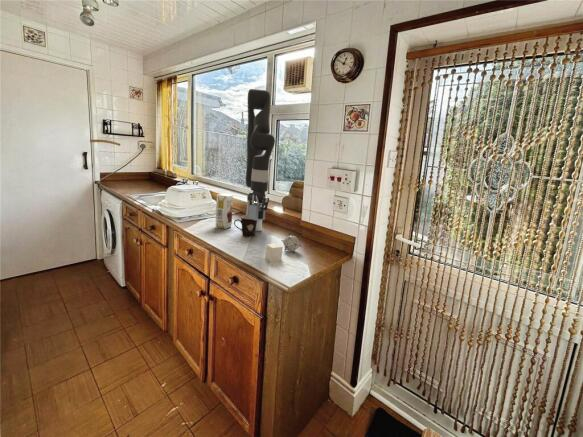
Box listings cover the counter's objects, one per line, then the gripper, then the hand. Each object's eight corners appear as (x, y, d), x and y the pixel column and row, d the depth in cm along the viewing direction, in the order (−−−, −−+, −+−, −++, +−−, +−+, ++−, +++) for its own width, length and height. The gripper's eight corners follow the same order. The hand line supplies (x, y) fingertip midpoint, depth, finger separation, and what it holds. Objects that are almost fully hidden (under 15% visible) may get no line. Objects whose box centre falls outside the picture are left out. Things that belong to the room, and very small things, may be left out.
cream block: (265, 257, 129) (266, 244, 128) (274, 256, 132) (276, 243, 131) (271, 261, 125) (272, 248, 124) (281, 260, 128) (282, 246, 127)
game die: (293, 258, 142) (308, 243, 140) (285, 256, 134) (300, 241, 133) (282, 245, 146) (296, 230, 144) (274, 242, 138) (288, 227, 137)
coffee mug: (257, 234, 163) (259, 216, 161) (254, 238, 155) (255, 219, 153) (237, 231, 164) (238, 214, 162) (232, 236, 156) (233, 217, 154)
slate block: (249, 217, 136) (250, 204, 135) (259, 217, 139) (259, 204, 138) (255, 220, 132) (256, 207, 131) (264, 219, 135) (265, 206, 134)
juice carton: (213, 227, 169) (215, 194, 165) (221, 224, 177) (222, 192, 173) (225, 229, 167) (227, 196, 163) (233, 226, 175) (234, 194, 171)
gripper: (244, 177, 135) (242, 214, 139) (260, 182, 124) (258, 221, 128) (258, 178, 139) (256, 213, 143) (275, 182, 128) (272, 220, 132)
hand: (257, 217), depth 135 cm, fingers closed on slate block, 5 cm apart
